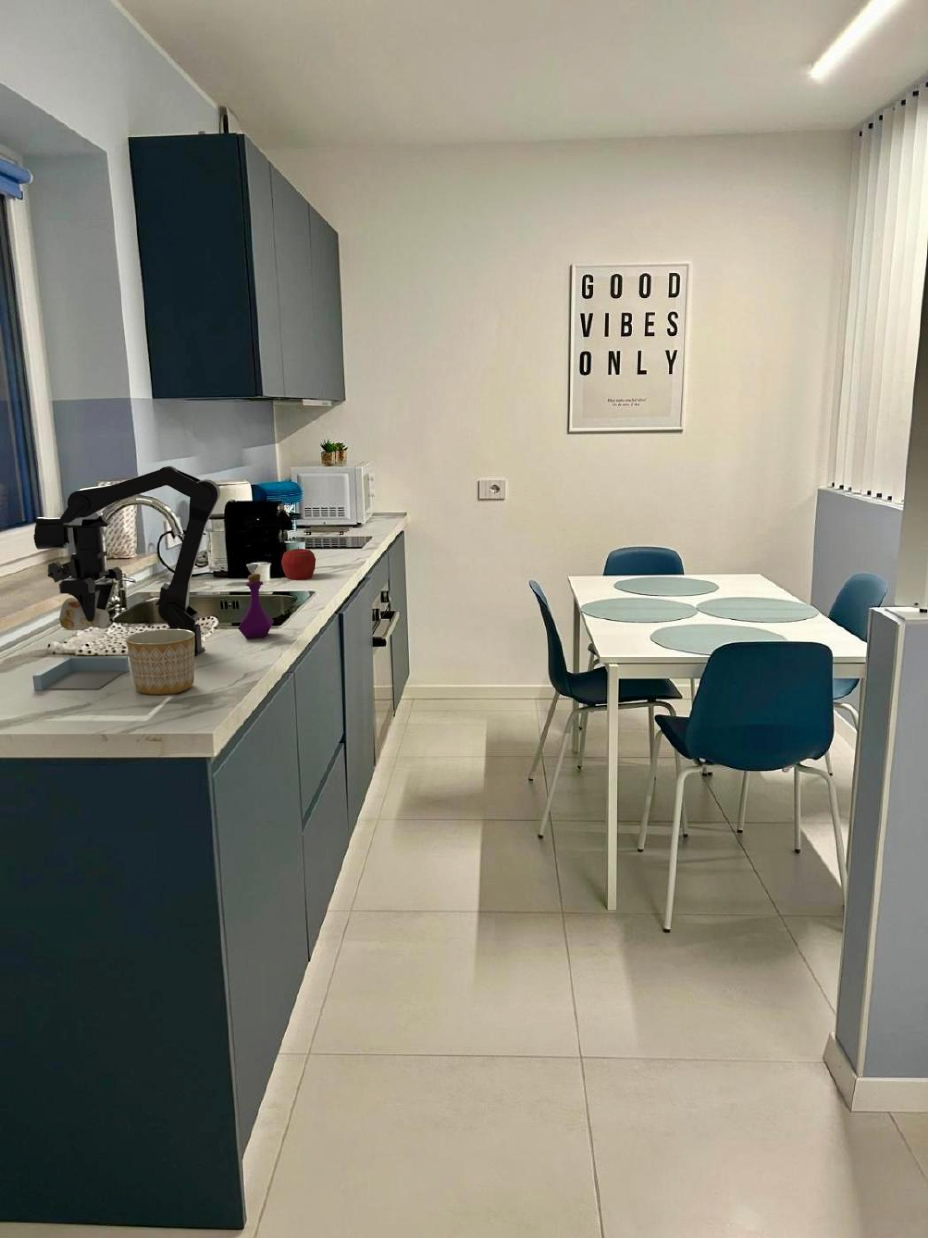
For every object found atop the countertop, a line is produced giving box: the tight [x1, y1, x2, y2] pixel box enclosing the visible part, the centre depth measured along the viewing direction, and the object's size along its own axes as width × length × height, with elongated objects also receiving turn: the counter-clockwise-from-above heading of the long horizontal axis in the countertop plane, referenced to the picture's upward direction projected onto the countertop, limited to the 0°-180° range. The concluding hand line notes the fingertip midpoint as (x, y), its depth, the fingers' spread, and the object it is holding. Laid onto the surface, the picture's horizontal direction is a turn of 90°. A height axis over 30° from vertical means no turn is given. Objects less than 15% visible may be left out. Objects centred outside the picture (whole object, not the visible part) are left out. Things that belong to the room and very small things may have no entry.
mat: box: [45, 671, 125, 691], centre depth 188 cm, size 11×12×1 cm
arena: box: [32, 656, 130, 691], centre depth 189 cm, size 13×14×3 cm
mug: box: [58, 597, 112, 631], centre depth 204 cm, size 8×10×10 cm
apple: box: [281, 546, 317, 581], centre depth 295 cm, size 11×11×12 cm
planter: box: [126, 628, 195, 696], centre depth 182 cm, size 13×13×10 cm
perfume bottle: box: [237, 563, 274, 640], centre depth 221 cm, size 8×8×18 cm
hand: (95, 618), depth 204 cm, fingers closed on mug, 5 cm apart
